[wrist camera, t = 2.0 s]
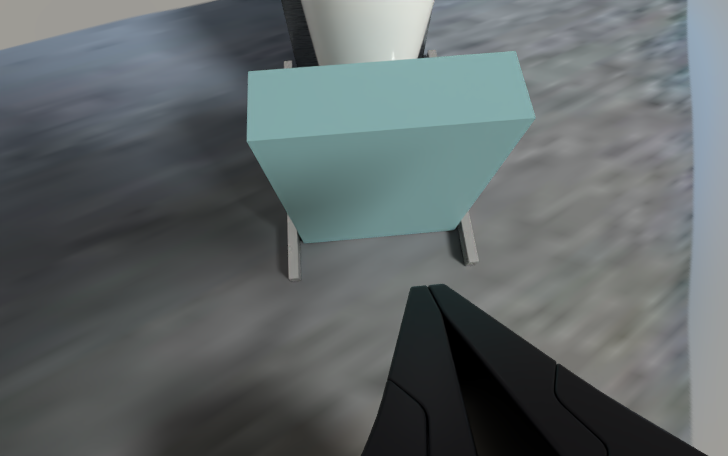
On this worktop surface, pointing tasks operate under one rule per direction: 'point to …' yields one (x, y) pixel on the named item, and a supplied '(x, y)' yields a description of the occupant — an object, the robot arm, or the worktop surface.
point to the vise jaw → (385, 140)
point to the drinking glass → (366, 29)
